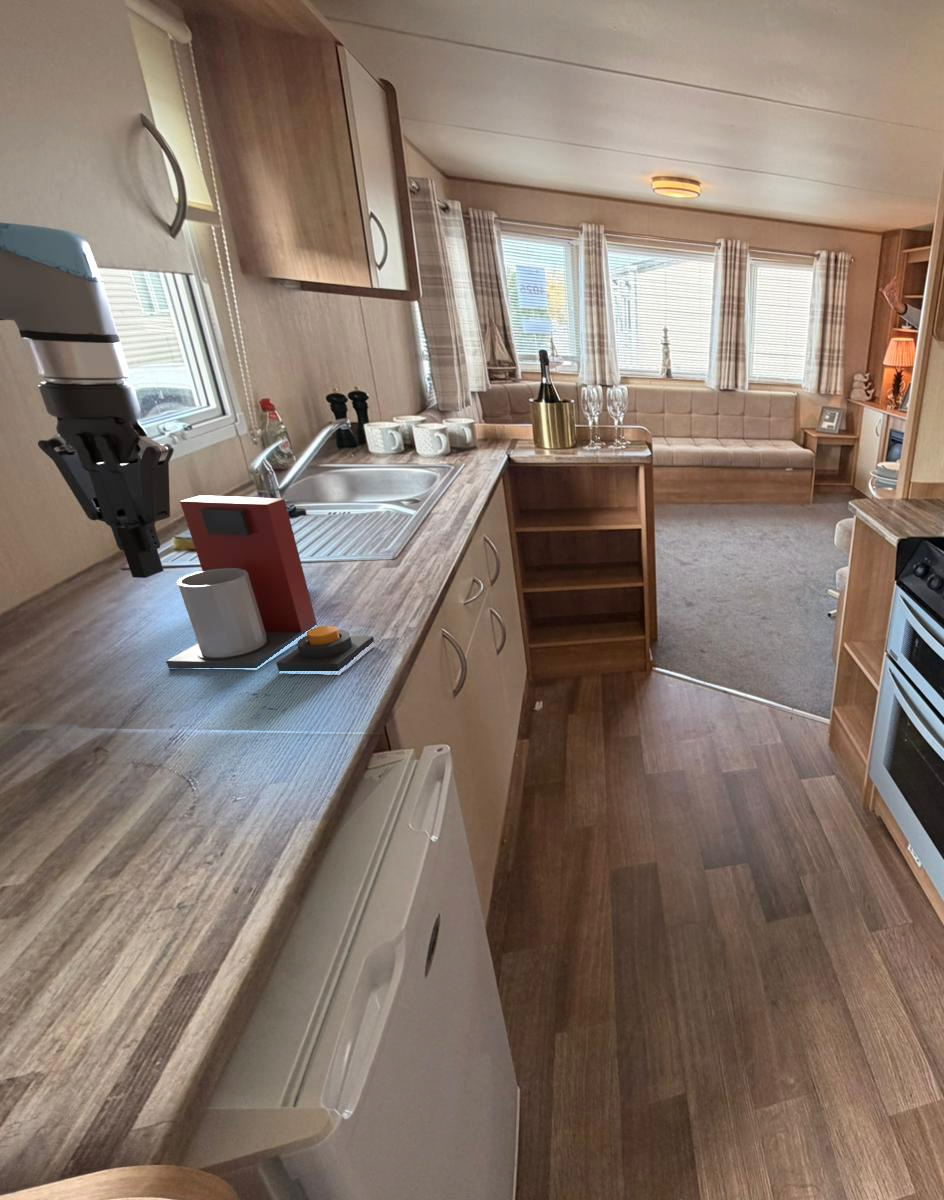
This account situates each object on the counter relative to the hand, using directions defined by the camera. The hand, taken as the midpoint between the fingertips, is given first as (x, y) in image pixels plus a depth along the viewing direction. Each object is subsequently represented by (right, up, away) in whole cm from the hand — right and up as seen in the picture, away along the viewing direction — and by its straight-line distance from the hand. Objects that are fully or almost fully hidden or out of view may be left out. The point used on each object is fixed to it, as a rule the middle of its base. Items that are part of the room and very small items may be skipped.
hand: (148, 573), depth 81 cm
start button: (+7, -10, +21) cm, 24 cm away
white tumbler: (-8, -11, +22) cm, 26 cm away
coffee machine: (-9, -11, +25) cm, 29 cm away
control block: (+7, -13, +23) cm, 27 cm away
